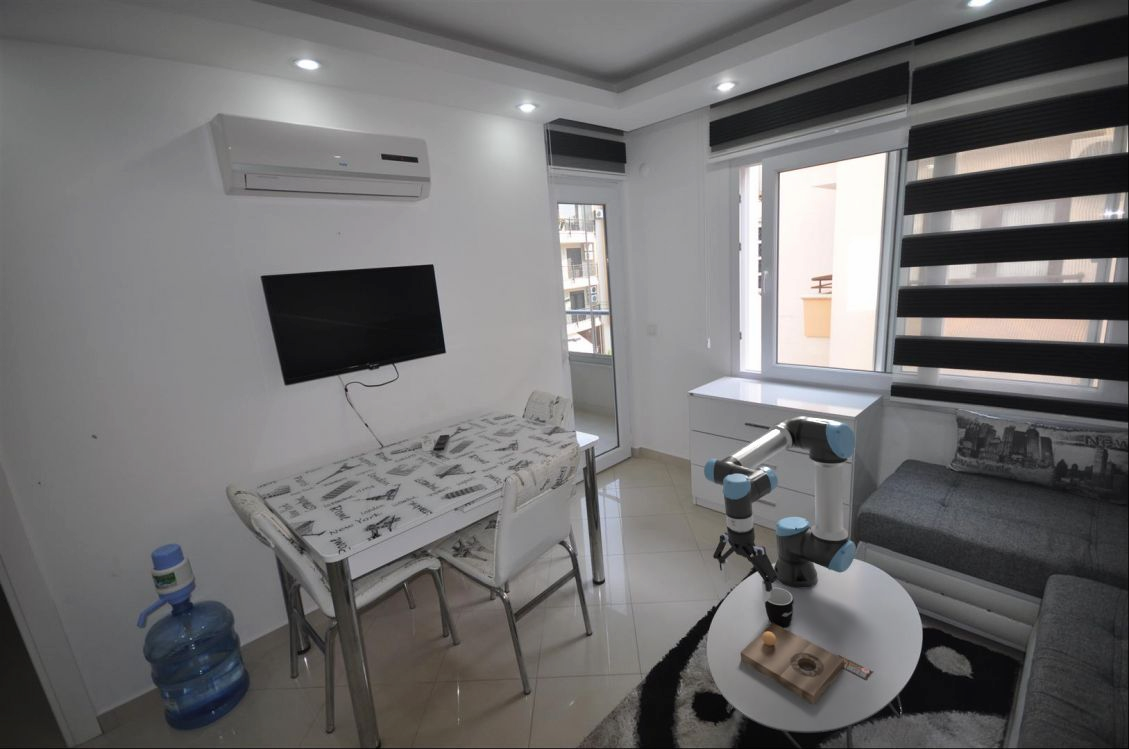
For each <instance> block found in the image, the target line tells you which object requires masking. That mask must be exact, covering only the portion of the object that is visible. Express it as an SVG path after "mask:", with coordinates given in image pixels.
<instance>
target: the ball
mask: <svg viewBox="0 0 1129 749" xmlns="http://www.w3.org/2000/svg"><path fill="white" fill-rule="evenodd" d="M762 638H763V641H764V643H765V644H767V645H769V646H772V645H774V644H775V643H776V637H775V635H774V634H773V633H772V632H769V631H767V632H765V633H764V634H763V636H762Z"/></svg>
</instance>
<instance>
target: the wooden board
mask: <svg viewBox="0 0 1129 749" xmlns="http://www.w3.org/2000/svg"><path fill="white" fill-rule="evenodd" d="M767 631H769V632H772V633H773V634H774V635H775V637H776V643H775V644H774V645H772V646H769V645H767V644H765V643H764V641H763V638H762V636H763V634H764V633H765V632H767ZM841 657H842V656H841ZM841 657H839V656H838V655H837V654H835V653H833V652H831V651H829V650H827V649H825V648H823V647H821V646H820V645H817V644H815V643H814V642H812V641H809V640H808V639H805V638H803V637H801V636H800V635H797V634H796V633H793V632H792V631H790V630H788V629H786V628H782V627H780V626H778V625H776V624H774V623H770V624H769V625H768V626H767V627H765V629H763V631H761V632H760V633H759V634H758V635H757V636H756V637H755V638H754V639H753V640H752V641H750V642H749V644H747V646H745V647H744V648H743V649H742V650H741V651H740V660H741V661H742V662H743V663H745V664H746V665H748V666H750V667H751V668H753V669H754V670H756V671H758V672H760V673H761V674H763V675H764V676H766V677H767V678H769V679H771V680H772V681H774V682H776V683H778V684H779V685H780V686H782V687H784V688H785V689H787V690H788V691H790V692H793V693H794V694H795V695H797V696H798V697H800V698H802V699H803V700H805V701H806V702H808V703H810V704H812V705H814V706H815V705H816V703H817V702H818V700H819V699H820V698H821V697H822V696H823V694H824V693H825V692H826V691H827V690H828V689H829V687H830V686H831V685H832V683H833V682H834V681H835V680H836V679H837V677H838V676H839V675H840V674H841V672H842V671H843V670H844V659H843V658H844V657H843V658H841ZM803 667H807V668H810V669H813V670H810V671H809V670H805V669H803Z"/></svg>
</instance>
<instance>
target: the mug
mask: <svg viewBox="0 0 1129 749" xmlns="http://www.w3.org/2000/svg"><path fill="white" fill-rule="evenodd" d="M770 595H771V598H770V599H768V600H767V601H766V602H764V606H765V611H766V615H767V618H768V621H769V623H770V624H771V623H774V624H776V625H778V626H780V627H782V628H784V629H786V628H788V627H789V626H790V625H791V624H792V620H793V614H794V613H793V612H794V602H795V597H794V596H793V595H794V594H791V592H789V591H788V590H787V589H784V588H781V587H772V590H771V591H770Z"/></svg>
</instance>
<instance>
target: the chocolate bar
mask: <svg viewBox="0 0 1129 749" xmlns="http://www.w3.org/2000/svg"><path fill="white" fill-rule="evenodd" d="M837 656H839V657H841V658H843V659H844V669H843V670H844V671H847V672H849V673H850V674H852V675H855V676H856V677H858V678H861V679H862V680H864V681H868V680H869V678H870V676H871V675H872V674H873V673H874V671H872V670H870V669H868V668H866V667H864V666H862V665H860V664H858V663H856V662H854V661H851V660H850V659H847V658H845V657H844V656H841V655H837Z"/></svg>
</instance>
